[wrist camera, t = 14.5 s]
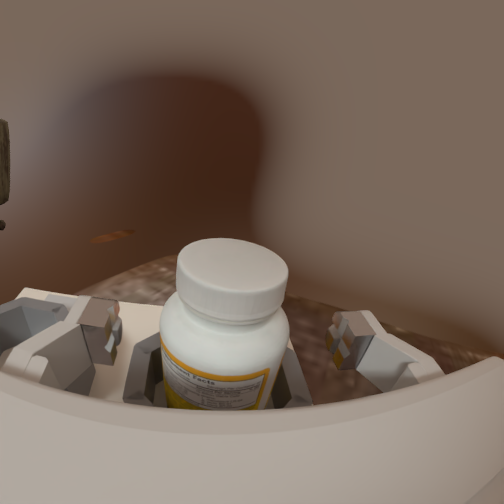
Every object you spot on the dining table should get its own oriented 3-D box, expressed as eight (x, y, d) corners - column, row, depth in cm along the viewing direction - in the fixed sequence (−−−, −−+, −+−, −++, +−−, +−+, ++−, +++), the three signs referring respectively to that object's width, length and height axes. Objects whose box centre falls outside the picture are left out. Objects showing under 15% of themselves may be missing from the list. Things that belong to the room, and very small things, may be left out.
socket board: (-48, 430, 5) (-83, 388, 4) (27, 298, 20) (17, 258, 18) (334, 497, 10) (371, 473, 8) (277, 323, 24) (288, 283, 22)
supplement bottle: (217, 467, 10) (242, 332, 6) (148, 404, 13) (127, 250, 9) (279, 408, 14) (331, 267, 10) (212, 362, 17) (228, 223, 13)
